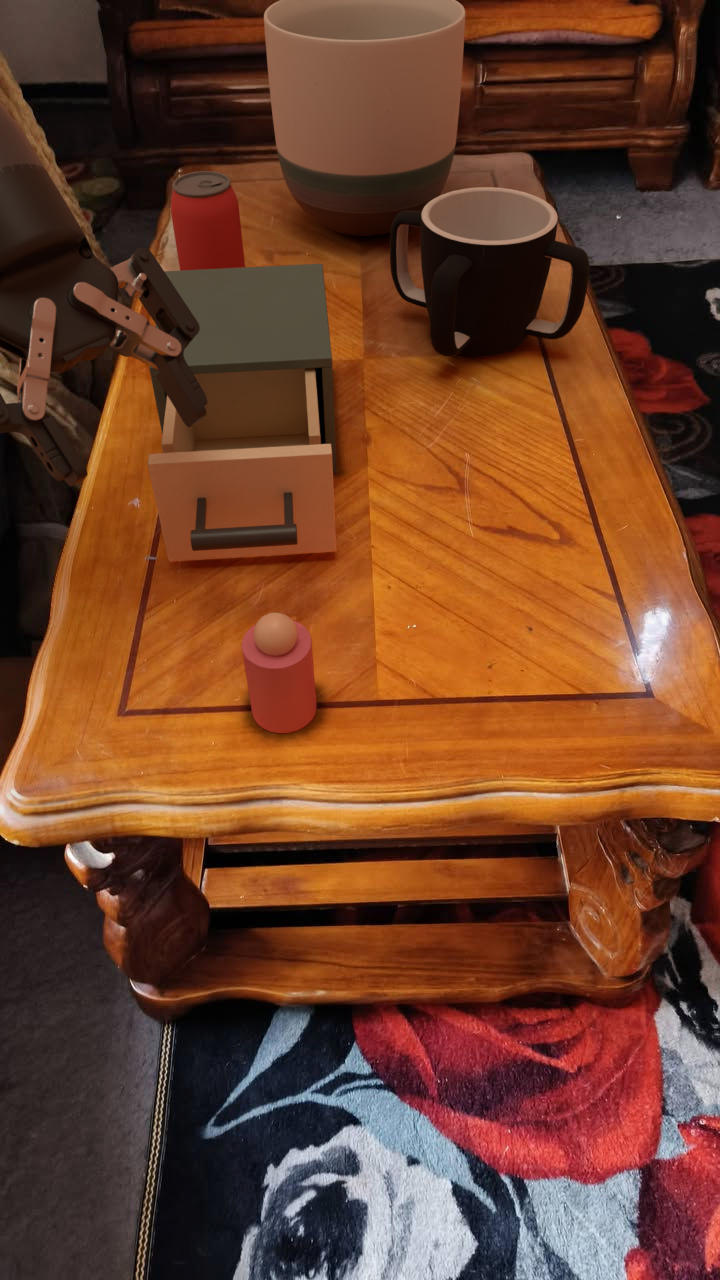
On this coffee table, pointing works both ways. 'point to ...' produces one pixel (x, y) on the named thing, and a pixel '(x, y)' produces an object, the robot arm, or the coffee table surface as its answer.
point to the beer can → (206, 222)
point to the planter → (364, 105)
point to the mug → (486, 269)
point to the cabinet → (259, 327)
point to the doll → (280, 673)
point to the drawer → (246, 470)
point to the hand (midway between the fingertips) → (141, 449)
